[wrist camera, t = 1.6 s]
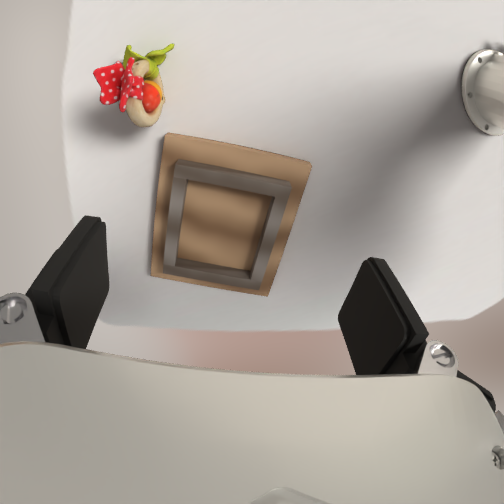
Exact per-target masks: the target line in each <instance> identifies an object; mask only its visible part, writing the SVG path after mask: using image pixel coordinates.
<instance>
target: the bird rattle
mask: <svg viewBox="0 0 504 504" xmlns="http://www.w3.org/2000/svg"><path fill="white" fill-rule="evenodd" d="M131 48H132V47H131V45H127V47H126V50H125V55H124V60H123V65H122V64H121V63H120V62H119V61H117V62H116V64H113V65H110V66H106V67H101V68H98V69H96V70H94V72H93V75H94V76H95V78H96V80H97V82H98V83H99V85H100V87H101V94H100V101H101V103H102V104H104V105H110V104H113V103H115V102H117V101H119V100H120V102H119V108H120V111H121V112H125V110H126V111H127V113H128V115H129V117H130V119H131V120H132V122H133V123H134V124H135V125H137V126H139V127H150V126H152V125H154V124H155V123H156V122H157V120H158V119H159V116H160V114H161V110H162V106H163V104H164V102H165V97H164V93H163V85H162V80H161V77H160V74H159V69H158V67H157V65H159V64H161V63H162V62H163V61H164V60H165V58H166V54H165V53H166V52H168V51H170V50H172V49H173V48H174V44H170V45H168V46H167V47H166V48H164V49H162V50H156V51H151V52H150V53H148V54H147V55H146V56H145V57H143V56H141V55H139V54H137V53H135V52H133V51H131ZM143 78H144V79H145V80H144V79H143Z"/></svg>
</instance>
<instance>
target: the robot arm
mask: <svg viewBox="0 0 504 504" xmlns="http://www.w3.org/2000/svg"><path fill="white" fill-rule="evenodd" d="M462 97H463V102H464V106H465V109H466V111H467V114H468V116H469V117H470V119H471V121H472V122H473V123H474V124H475V126H476V127H477V128H479V129H480V130H481V131H483V132H485V133H487V134H490V135H494V136H499V135H503V134H504V53H503V54H502V53H501V52H498V51H495V50H489V49H486V50H481V51H478V52H476V53H475V54H474V55H472V56H471V58H470V59H469V60H468V62H467V64H466V66H465V69H464V72H463V76H462ZM108 291H109V274H108V260H107V243H106V224H105V222H101V218H100V217H93V216H84V217H83V218H82V219H81V220H80V222H79V223H78V224H77V225H76V227H75V228H74V229H73V231H72V232H71V233H70V235H69V236H68V237H67V238H66V240H65V241H64V242H63V244H62V245H61V246H60V248H59V249H57V250H56V251H55V252H54V254H53V255H52V257H51V258H50V259H49V261H48V262H47V263H46V265H45V266H44V268H43V269H42V271H41V272H40V274H39V275H38V276H37V278H36V279H35V281H34V282H33V284H32V285H31V287H30V288H29V290H28V291H27V293H26V294H25V295H24V294H21V293H10V294H6V295H4V296H2V297H0V504H504V416H503V414H502V413H501V412H500V411H499V410H498V411H497V412H495V410H496V405H495V401H494V398H493V396H492V394H491V393H490V392H489V391H488V390H486V389H485V388H483V387H482V386H480V385H479V384H477V383H476V382H474V381H473V380H472V379H470V378H469V377H467V376H466V375H464V374H463V373H461V372H460V371H458V358H457V355H456V354H455V352H454V351H453V350H452V349H451V348H450V347H449V346H448V345H447V344H445V343H443V342H441V341H437V340H432V341H430V342H428V343H427V342H426V340H425V339H426V338H427V337H428V335H429V333H428V331H427V329H426V327H425V326H424V324H423V322H422V320H421V319H420V317H419V315H418V313H417V312H416V310H415V308H414V307H413V305H412V303H411V301H410V300H409V298H408V296H407V295H406V293H405V291H404V290H403V288H402V287H401V285H400V283H399V282H398V280H397V278H396V277H395V275H394V274H393V272H392V271H391V269H390V267H389V266H388V264H387V263H386V261H385V260H384V259H379V258H373V257H370V258H368V259H367V260H365V261H364V262H363V263H362V265H361V267H360V269H359V272H358V274H357V276H356V278H355V280H354V283H353V285H352V287H351V289H350V291H349V293H348V295H347V297H346V299H345V301H344V304H343V306H342V308H341V310H340V312H339V315H338V321H339V325H340V328H341V330H342V333H343V336H344V339H345V342H346V345H347V348H348V351H349V354H350V357H351V360H352V363H353V366H354V369H355V372H356V375H301V374H300V375H299V374H277V373H260V372H246V371H233V370H223V369H212V368H202V367H194V366H186V365H178V364H170V363H163V362H157V361H150V360H144V359H138V358H132V357H126V356H119V355H114V354H108V353H103V352H97V351H92V350H87V349H86V347H87V344H88V342H89V339H90V336H91V333H92V331H93V328H94V326H95V323H96V321H97V318H98V316H99V313H100V311H101V309H102V306H103V304H104V301H105V299H106V297H107V294H108Z"/></svg>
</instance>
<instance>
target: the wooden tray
mask: <svg viewBox="0 0 504 504" xmlns="http://www.w3.org/2000/svg"><path fill="white" fill-rule="evenodd" d="M311 168H312V165H311V163H310V162H307V161H304V160H300V159H296V158H292V157H288V156H284V155H279V154H275V153H271V152H267V151H262V150H258V149H253V148H249V147H244V146H239V145H234V144H229V143H224V142H219V141H214V140H209V139H203V138H198V137H192V136H186V135H180V134H174V133H167V134H166V135H165V138H164V145H163V152H162V159H161V167H160V175H159V183H158V192H157V201H156V211H155V221H154V233H153V246H152V261H151V276H154V277H160V278H165V279H170V280H175V281H181V282H186V283H191V284H197V285H202V286H208V287H214V288H219V289H225V290H231V291H237V292H243V293H249V294H255V295H261V296H267V297H268V294H269V291H270V289H271V286H272V283H273V280H274V277H275V274H276V272H277V269H278V266H279V263H280V260H281V257H282V254H283V251H284V248H285V246H286V243H287V240H288V237H289V234H290V231H291V228H292V225H293V222H294V219H295V216H296V213H297V210H298V207H299V204H300V201H301V198H302V195H303V192H304V189H305V186H306V183H307V180H308V177H309V174H310V171H311Z"/></svg>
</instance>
